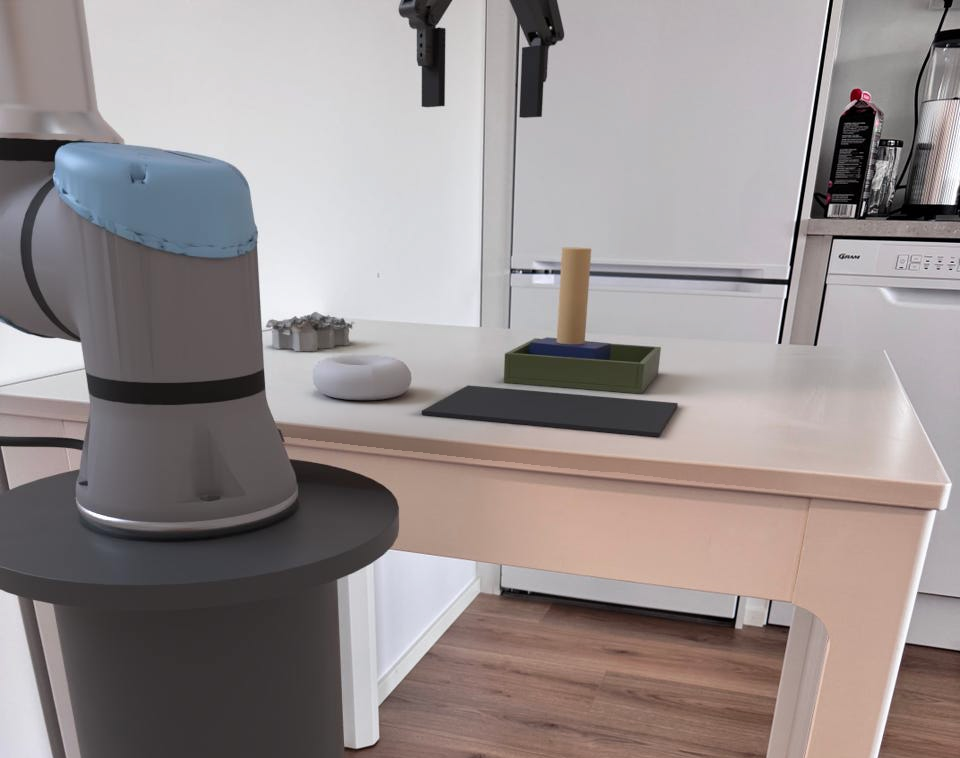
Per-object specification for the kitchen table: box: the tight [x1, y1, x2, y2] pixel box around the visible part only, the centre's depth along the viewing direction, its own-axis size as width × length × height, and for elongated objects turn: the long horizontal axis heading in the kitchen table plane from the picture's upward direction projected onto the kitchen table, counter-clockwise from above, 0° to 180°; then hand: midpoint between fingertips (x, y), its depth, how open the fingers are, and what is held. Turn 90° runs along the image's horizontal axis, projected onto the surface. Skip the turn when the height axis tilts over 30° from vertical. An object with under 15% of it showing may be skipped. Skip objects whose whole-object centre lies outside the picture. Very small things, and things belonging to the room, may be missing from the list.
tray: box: [503, 337, 662, 395], centre depth 107 cm, size 15×13×3 cm
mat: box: [421, 385, 679, 438], centre depth 91 cm, size 22×14×1 cm, turn 73°
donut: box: [311, 354, 413, 401], centre depth 96 cm, size 10×4×10 cm
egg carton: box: [265, 311, 355, 353], centre depth 124 cm, size 11×8×4 cm
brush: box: [529, 246, 612, 360], centre depth 107 cm, size 8×5×13 cm, turn 63°
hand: (483, 112), depth 98 cm, fingers open, 13 cm apart
